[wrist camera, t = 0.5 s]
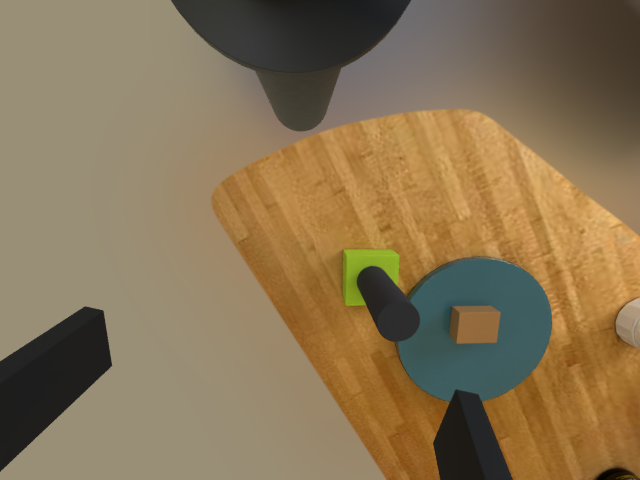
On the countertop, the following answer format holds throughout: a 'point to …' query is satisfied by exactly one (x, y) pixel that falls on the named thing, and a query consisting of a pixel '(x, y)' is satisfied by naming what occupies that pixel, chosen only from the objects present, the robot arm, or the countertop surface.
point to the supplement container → (618, 475)
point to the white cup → (629, 323)
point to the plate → (476, 358)
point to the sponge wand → (379, 291)
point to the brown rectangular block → (474, 324)
